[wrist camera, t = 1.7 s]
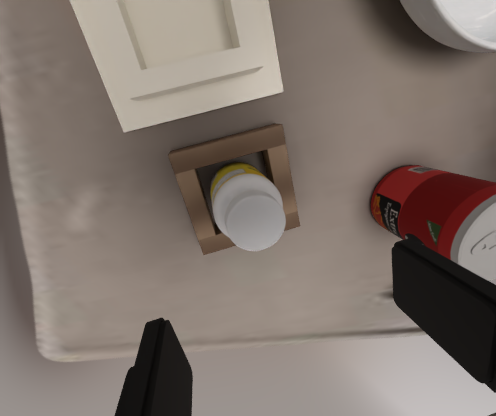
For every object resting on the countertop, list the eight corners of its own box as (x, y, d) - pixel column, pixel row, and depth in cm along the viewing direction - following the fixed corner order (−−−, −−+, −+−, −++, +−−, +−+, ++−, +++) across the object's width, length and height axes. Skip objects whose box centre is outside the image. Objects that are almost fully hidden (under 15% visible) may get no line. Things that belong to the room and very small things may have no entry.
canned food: (356, 197, 28) (443, 243, 18) (413, 148, 27) (538, 167, 17) (387, 239, 31) (477, 300, 21) (440, 196, 30) (561, 236, 20)
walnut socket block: (171, 151, 23) (167, 154, 21) (274, 123, 24) (282, 124, 22) (203, 243, 27) (203, 255, 25) (291, 216, 28) (300, 226, 25)
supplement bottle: (271, 195, 26) (308, 236, 17) (226, 221, 27) (240, 275, 17) (247, 149, 24) (274, 169, 15) (199, 177, 25) (197, 213, 15)
